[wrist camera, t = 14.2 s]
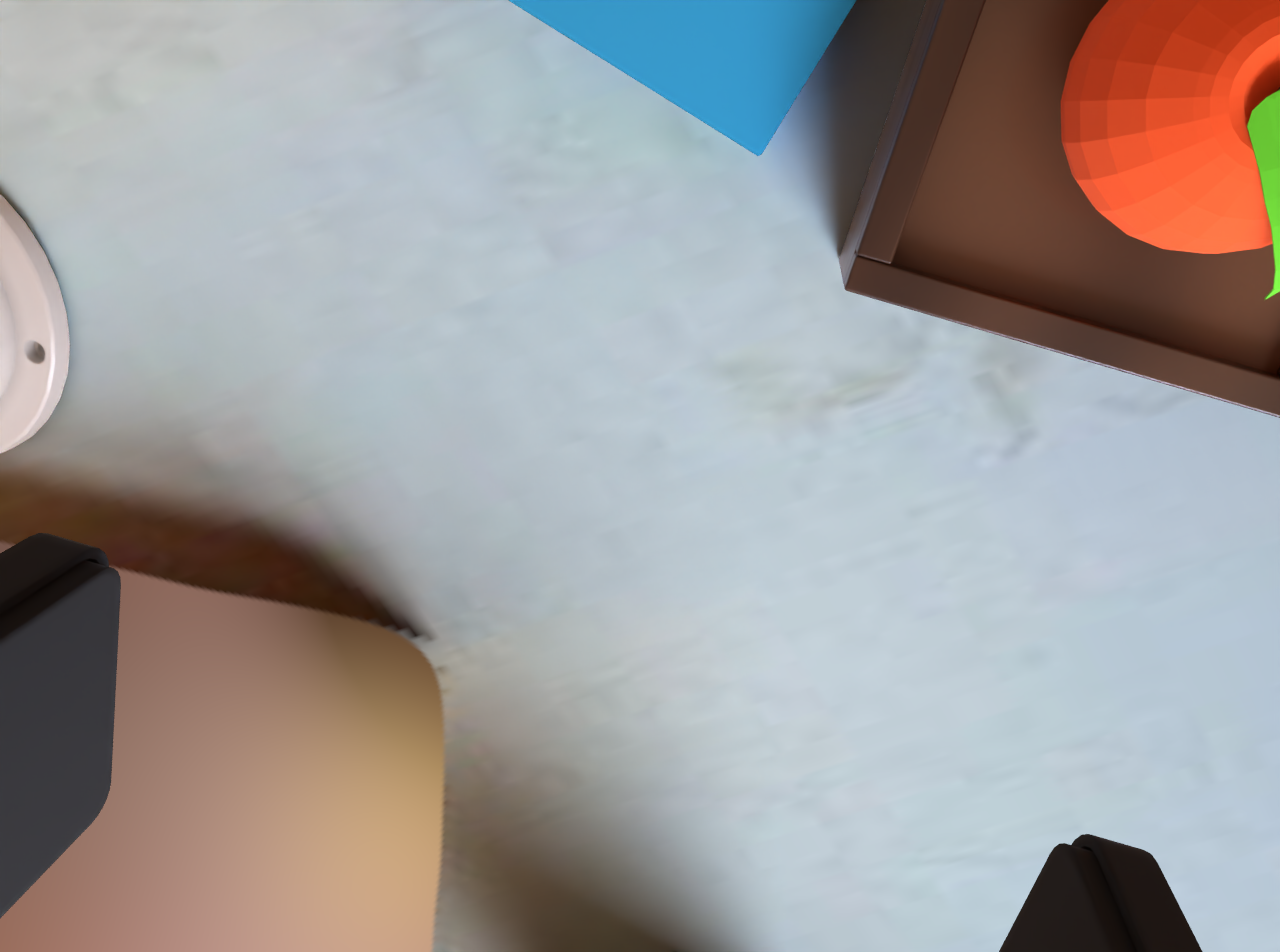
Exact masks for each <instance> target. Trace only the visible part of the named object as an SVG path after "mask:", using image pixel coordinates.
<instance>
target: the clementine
mask: <svg viewBox="0 0 1280 952" xmlns="http://www.w3.org/2000/svg"><path fill="white" fill-rule="evenodd" d="M1061 140H1062V144H1063V147H1064V150H1065V153H1066V157H1067V160H1068V163H1069V166H1070V170H1071V173H1072V175H1073V177H1074V178H1075V180H1076V181H1077V183H1078V184H1079V186H1080V187H1081V189H1082V190H1083V192H1084V193H1085V195H1086V196H1087V198H1088V199H1089V201H1090V202H1091V204H1092V205H1093V206H1094V207H1095V209H1096V210H1097V211H1098V212H1099V213H1101V214H1102V215H1103V216H1104V217H1106V218H1107V219H1108V220H1109V221H1111V222H1112V223H1113V224H1114V225H1116V226H1117V227H1118V228H1119V229H1121V230H1122V231H1123V232H1124V233H1126V234H1127V235H1129V236H1132V237H1134V238H1137V239H1139V240H1142V241H1144V242H1147V243H1149V244H1151V245H1154V246H1156V247H1159V248H1161V249H1167V250H1176V251H1185V252H1193V253H1202V254H1220V253H1227V252H1235V251H1242V250H1250V249H1258V248H1262V247H1265V246H1268V245H1270V244H1273V253H1274V265H1275V274H1274V283H1273V289H1272V290H1271V291H1270V292H1269V293H1268V294H1267V296H1266V297H1265V298H1264V299H1267V298H1269V297H1271V296H1273V295H1274V294H1276V293H1278V292H1280V0H1108V2H1107V3H1106V4H1105V5H1104V6H1103V8H1102V9H1101V10H1100V11H1099V13H1098V14H1097V15H1096V16H1095V17H1094V19H1093V20H1092V21H1091V22H1090V23H1089V25H1088V27H1087V29H1086V31H1085V33H1084V35H1083V37H1082V39H1081V41H1080V43H1079V45H1078V47H1077V49H1076V51H1075V53H1074V55H1073V57H1072V59H1071V61H1070V64H1069V68H1068V73H1067V77H1066V81H1065V85H1064V89H1063V94H1062V98H1061Z"/></svg>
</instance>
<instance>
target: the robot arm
mask: <svg viewBox="0 0 1280 952" xmlns="http://www.w3.org/2000/svg"><path fill="white" fill-rule="evenodd" d="M69 354H70V338H69V328H68V319H67V313H66V309H65V305H64V302H63V298H62V294H61V291H60V287H59V284H58V281H57V279H56V277H55V275H54V272H53V270H52V268H51V266H50V263H49V261H48V259H47V257H46V255H45V252H44V251H43V249H42V248H41V246H40V245H39V243H38V241H37V240H36V238H35V237H34V235H33V234H32V232H31V230H30V229H29V227H28V226H27V224H26V223H25V222H24V220H23V219H22V218H21V217H20V216H19V215H18V213H17V212H16V211H15V210H14V209H13V208H12V206H11V205H10V204H9V203H8V202H7V201H6V199H5V198H4V197H3V196H2V195H1V194H0V453H3V452H5V451H8V450H10V449H13V448H14V447H16V446H17V445H19V444H21V443H22V442H24V441H26V440H27V439H29V438H31V437H32V436H33V435H34V434H35V433H36V432H37V431H38V430H39V429H40V428H41V427H42V426H43V425H44V424H45V423H46V422H47V421H48V419H49V418H50V416H51V414H52V412H53V411H54V409H55V407H56V405H57V404H58V402H59V400H60V398H61V395H62V392H63V388H64V385H65V381H66V378H67V375H68V366H69ZM120 589H121V583H120V576H119V573H118V571H116V570H115V569H114V568H111V567H109V563H108V559H107V557H106V554H105V553H104V552H103V551H102V550H100V549H99V548H96V547H92V546H89V545H85V544H82V543H78V542H75V541H72V540H68V539H65V538H61V537H58V536H54V535H51V534H46V533H38V534H36V535H33V536H30V537H28V538H27V539H25V540H23V541H21V542H19V543H18V544H16V545H14V546H12V547H11V548H9V549H7V550H5V551H4V552H2V553H0V918H1V917H2V916H3V915H4V914H5V913H6V912H7V911H8V910H9V909H10V908H11V906H12V905H14V904H15V902H16V901H17V900H18V899H19V898H20V897H21V896H22V895H23V894H24V893H25V892H26V891H27V890H28V889H29V888H30V887H31V886H32V885H33V884H34V883H35V882H36V881H37V880H38V879H39V878H40V876H41V875H42V874H43V873H44V872H45V871H46V870H47V869H48V868H49V867H50V866H51V865H52V864H53V863H54V862H55V861H56V860H57V859H58V858H59V857H60V856H61V855H62V854H63V853H64V852H65V850H66V849H67V848H68V847H69V846H70V845H71V844H72V843H73V842H74V841H75V840H76V839H77V838H78V837H79V836H80V835H81V834H82V833H83V832H84V831H85V830H86V829H87V828H88V827H89V826H90V824H91V823H92V822H93V821H94V820H95V818H96V817H97V816H98V814H99V813H100V811H101V809H102V808H103V806H104V804H105V801H106V799H107V796H108V793H109V790H110V785H111V771H112V750H113V730H114V710H115V690H116V670H117V649H118V629H119V608H120ZM999 952H1202V950H1201V948H1200V946H1199V944H1198V942H1197V940H1196V938H1195V936H1194V934H1193V932H1192V930H1191V928H1190V926H1189V924H1188V922H1187V920H1186V918H1185V916H1184V914H1183V912H1182V910H1181V909H1180V907H1179V905H1178V903H1177V901H1176V899H1175V897H1174V895H1173V893H1172V891H1171V889H1170V887H1169V885H1168V883H1167V881H1166V879H1165V877H1164V875H1163V873H1162V871H1161V869H1160V867H1159V865H1158V863H1157V862H1156V860H1155V859H1154V857H1153V856H1152V855H1151V854H1150V853H1148V852H1146V851H1145V850H1142V849H1138V848H1135V847H1131V846H1128V845H1124V844H1121V843H1118V842H1114V841H1111V840H1107V839H1104V838H1100V837H1097V836H1093V835H1090V834H1085V835H1081V836H1080V837H1078V838H1077V839H1075V840H1074V842H1073V843H1072V845H1068V844H1065V843H1064V844H1059V845H1057V846H1056V847H1055V848H1054V849H1053V850H1052V852H1051V853H1050V855H1049V857H1048V859H1047V861H1046V863H1045V865H1044V867H1043V868H1042V870H1041V872H1040V874H1039V876H1038V878H1037V880H1036V882H1035V884H1034V886H1033V888H1032V890H1031V891H1030V893H1029V895H1028V897H1027V899H1026V901H1025V903H1024V905H1023V907H1022V909H1021V911H1020V913H1019V914H1018V916H1017V918H1016V920H1015V922H1014V924H1013V926H1012V928H1011V930H1010V932H1009V934H1008V936H1007V937H1006V939H1005V941H1004V943H1003V945H1002V947H1001V949H1000V951H999Z"/></svg>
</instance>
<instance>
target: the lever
mask: <svg viewBox="0 0 1280 952" xmlns="http://www.w3.org/2000/svg"><path fill="white" fill-rule="evenodd" d="M509 1H510V2H512V3H514V4H515V5H517V6H518V7H520V8H522V9H523V10H525V11H526V12H528V13H530V14H531V15H533V16H534V17H536V18H538V19H539V20H541V21H542V22H544V23H546V24H547V25H549V26H550V27H552V28H554V29H555V30H557V31H558V32H560V33H562V34H563V35H565V36H566V37H568V38H570V39H571V40H573V41H574V42H576V43H578V44H579V45H581V46H582V47H584V48H586V49H587V50H589V51H590V52H592V53H594V54H595V55H597V56H598V57H600V58H602V59H603V60H605V61H607V62H608V63H610V64H611V65H613V66H615V67H616V68H618V69H619V70H621V71H623V72H624V73H626V74H627V75H629V76H631V77H632V78H634V79H635V80H637V81H639V82H640V83H642V84H643V85H645V86H647V87H648V88H650V89H651V90H653V91H655V92H656V93H658V94H659V95H661V96H663V97H664V98H666V99H667V100H669V101H671V102H672V103H674V104H675V105H677V106H679V107H680V108H682V109H683V110H685V111H687V112H688V113H690V114H691V115H693V116H695V117H696V118H698V119H699V120H701V121H703V122H704V123H706V124H707V125H709V126H711V127H712V128H714V129H715V130H717V131H719V132H720V133H722V134H723V135H725V136H727V137H728V138H730V139H731V140H733V141H735V142H736V143H738V144H739V145H741V146H743V147H744V148H746V149H748V150H749V151H751V152H752V153H754V154H756V155H757V156H759V155H761V154H762V153H763V151H764V149H765V148H766V146H767V145H768V143H769V141H770V140H771V138H772V136H773V135H774V133H775V132H776V130H777V128H778V127H779V125H780V124H781V122H782V120H783V119H784V117H785V115H786V114H787V112H788V111H789V109H790V107H791V106H792V104H793V102H794V101H795V99H796V98H797V96H798V94H799V93H800V91H801V89H802V88H803V86H804V85H805V83H806V81H807V80H808V78H809V76H810V75H811V73H812V72H813V70H814V68H815V67H816V65H817V63H818V62H819V60H820V59H821V57H822V55H823V54H824V52H825V51H826V49H827V47H828V46H829V44H830V42H831V41H832V39H833V38H834V36H835V34H836V33H837V31H838V29H839V28H840V26H841V25H842V23H843V21H844V20H845V18H846V16H847V15H848V13H849V12H850V10H851V8H852V7H853V5H854V3H855V2H856V0H509Z"/></svg>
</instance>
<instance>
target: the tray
mask: <svg viewBox="0 0 1280 952" xmlns="http://www.w3.org/2000/svg"><path fill="white" fill-rule="evenodd" d="M1107 2H1108V0H926V3H925V6H924V9H923V12H922V14H921V17H920V20H919V23H918V26H917V29H916V32H915V35H914V38H913V41H912V44H911V47H910V50H909V53H908V56H907V59H906V62H905V65H904V68H903V71H902V74H901V77H900V80H899V83H898V86H897V88H896V91H895V94H894V97H893V100H892V103H891V106H890V109H889V112H888V115H887V118H886V121H885V124H884V127H883V130H882V133H881V136H880V139H879V142H878V145H877V148H876V151H875V154H874V157H873V160H872V162H871V165H870V168H869V171H868V174H867V177H866V180H865V183H864V186H863V189H862V192H861V195H860V198H859V201H858V204H857V207H856V210H855V213H854V216H853V219H852V222H851V225H850V228H849V231H848V234H847V237H846V239H845V242H844V245H843V248H842V251H841V254H840V257H839V263H840V268H841V273H842V278H843V283H844V287H845V290H846V291H850V292H853V293H856V294H860V295H863V296H867V297H870V298H873V299H877V300H880V301H884V302H887V303H890V304H894V305H897V306H901V307H904V308H907V309H911V310H914V311H918V312H921V313H925V314H928V315H931V316H935V317H938V318H942V319H945V320H948V321H952V322H955V323H959V324H962V325H965V326H969V327H972V328H976V329H979V330H983V331H986V332H989V333H993V334H996V335H1000V336H1003V337H1006V338H1010V339H1013V340H1017V341H1020V342H1023V343H1027V344H1030V345H1034V346H1037V347H1041V348H1044V349H1047V350H1051V351H1054V352H1058V353H1061V354H1064V355H1068V356H1071V357H1075V358H1078V359H1081V360H1085V361H1088V362H1092V363H1095V364H1098V365H1102V366H1105V367H1109V368H1112V369H1116V370H1119V371H1122V372H1126V373H1129V374H1133V375H1136V376H1139V377H1143V378H1146V379H1150V380H1153V381H1156V382H1160V383H1163V384H1167V385H1170V386H1174V387H1177V388H1180V389H1184V390H1187V391H1191V392H1194V393H1197V394H1201V395H1204V396H1208V397H1211V398H1214V399H1218V400H1221V401H1225V402H1228V403H1232V404H1235V405H1238V406H1242V407H1245V408H1249V409H1252V410H1255V411H1259V412H1262V413H1266V414H1269V415H1272V416H1276V417H1279V418H1280V292H1278V293H1276V294H1274V295H1273V296H1271V297H1269V298H1267V299H1264V298H1265V297H1266V296H1267V294H1268V293H1269V292H1270V291H1271V290H1272V289H1273V283H1274V274H1275V265H1274V253H1273V244H1270V245H1268V246H1265V247H1262V248H1258V249H1250V250H1242V251H1235V252H1227V253H1220V254H1202V253H1193V252H1185V251H1176V250H1167V249H1161V248H1159V247H1156V246H1154V245H1151V244H1149V243H1147V242H1144V241H1142V240H1139V239H1137V238H1134V237H1132V236H1129V235H1127V234H1126V233H1124V232H1123V231H1122V230H1121V229H1119V228H1118V227H1117V226H1116V225H1114V224H1113V223H1112V222H1111V221H1109V220H1108V219H1107V218H1106V217H1104V216H1103V215H1102V214H1101V213H1099V212H1098V211H1097V210H1096V209H1095V207H1094V206H1093V205H1092V204H1091V202H1090V201H1089V199H1088V198H1087V196H1086V195H1085V193H1084V192H1083V190H1082V189H1081V187H1080V186H1079V184H1078V183H1077V181H1076V180H1075V178H1074V177H1073V175H1072V173H1071V170H1070V166H1069V163H1068V160H1067V157H1066V153H1065V150H1064V147H1063V144H1062V140H1061V98H1062V94H1063V89H1064V85H1065V81H1066V77H1067V73H1068V68H1069V64H1070V61H1071V59H1072V57H1073V55H1074V53H1075V51H1076V49H1077V47H1078V45H1079V43H1080V41H1081V39H1082V37H1083V35H1084V33H1085V31H1086V29H1087V27H1088V25H1089V23H1090V22H1091V21H1092V20H1093V19H1094V17H1095V16H1096V15H1097V14H1098V13H1099V11H1100V10H1101V9H1102V8H1103V6H1104V5H1105V4H1106V3H1107Z"/></svg>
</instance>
